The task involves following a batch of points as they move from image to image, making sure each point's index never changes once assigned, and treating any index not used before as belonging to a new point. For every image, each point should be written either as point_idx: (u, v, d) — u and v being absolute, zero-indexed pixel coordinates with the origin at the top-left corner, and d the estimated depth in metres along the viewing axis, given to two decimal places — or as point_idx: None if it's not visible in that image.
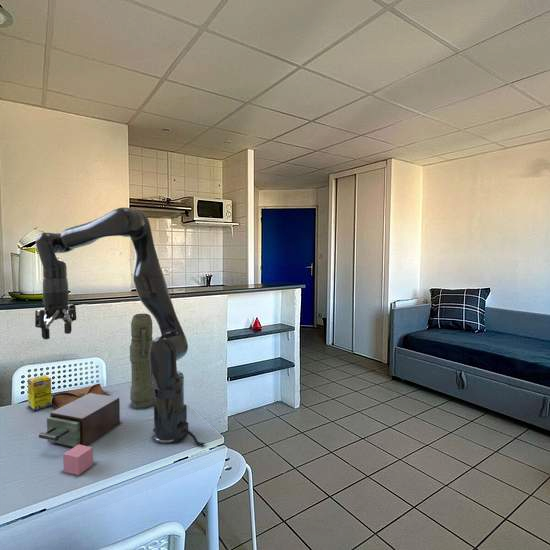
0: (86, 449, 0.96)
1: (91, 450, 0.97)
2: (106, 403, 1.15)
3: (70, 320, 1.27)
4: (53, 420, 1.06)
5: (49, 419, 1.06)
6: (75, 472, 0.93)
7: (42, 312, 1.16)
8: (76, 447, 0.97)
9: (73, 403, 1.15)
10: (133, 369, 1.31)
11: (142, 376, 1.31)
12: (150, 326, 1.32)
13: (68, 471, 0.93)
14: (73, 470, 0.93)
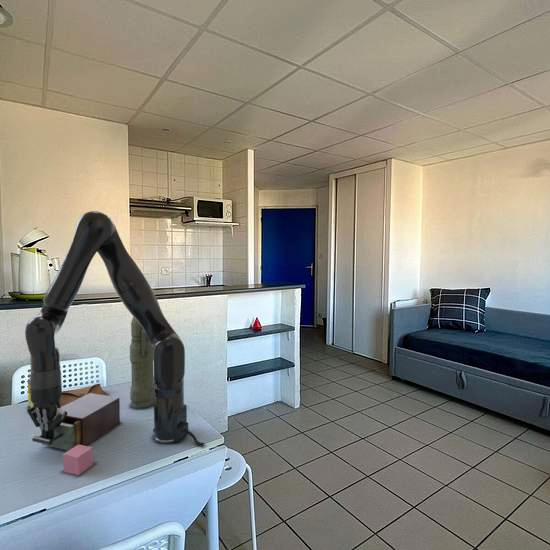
0: (86, 449, 0.96)
1: (91, 450, 0.97)
2: (106, 403, 1.15)
3: (45, 427, 1.00)
4: None
5: None
6: (75, 472, 0.93)
7: (28, 411, 1.01)
8: (76, 447, 0.97)
9: (73, 403, 1.15)
10: (133, 369, 1.31)
11: (142, 376, 1.31)
12: None
13: (68, 471, 0.93)
14: (73, 470, 0.93)
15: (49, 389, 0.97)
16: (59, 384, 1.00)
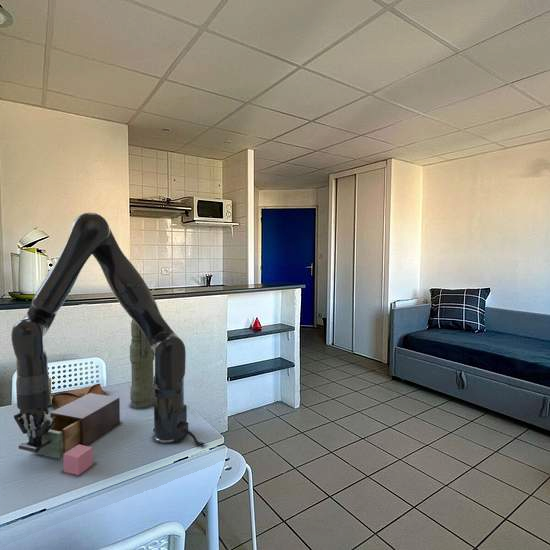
0: (86, 449, 0.96)
1: (91, 450, 0.97)
2: (106, 403, 1.15)
3: (32, 434, 0.96)
4: None
5: None
6: (75, 472, 0.93)
7: (15, 418, 0.97)
8: (76, 447, 0.97)
9: (73, 403, 1.15)
10: (133, 369, 1.31)
11: (142, 376, 1.31)
12: None
13: (68, 471, 0.93)
14: (73, 470, 0.93)
15: (36, 394, 0.94)
16: (47, 389, 0.96)
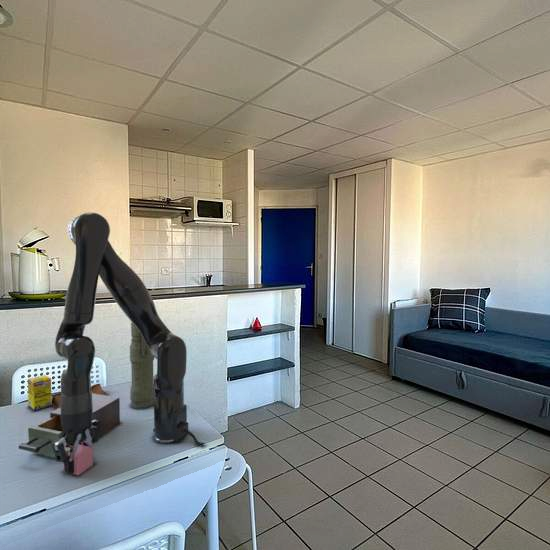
0: (86, 449, 0.96)
1: (91, 450, 0.97)
2: (106, 403, 1.15)
3: (90, 444, 0.98)
4: (35, 430, 1.00)
5: (31, 428, 1.01)
6: (75, 472, 0.93)
7: (61, 446, 0.89)
8: None
9: None
10: (133, 369, 1.31)
11: (142, 376, 1.31)
12: None
13: None
14: None
15: None
16: None
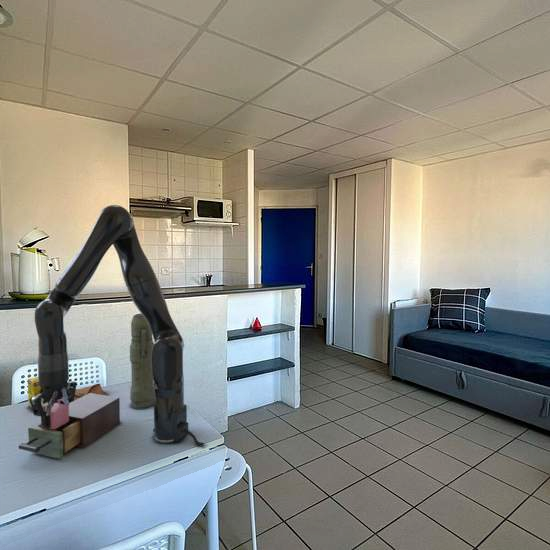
0: (63, 406, 1.04)
1: (67, 408, 1.04)
2: (106, 403, 1.15)
3: (66, 403, 1.05)
4: (35, 430, 1.00)
5: (31, 428, 1.01)
6: (51, 427, 1.00)
7: (38, 400, 0.96)
8: None
9: (73, 403, 1.15)
10: (133, 369, 1.31)
11: (142, 376, 1.31)
12: None
13: None
14: None
15: None
16: None
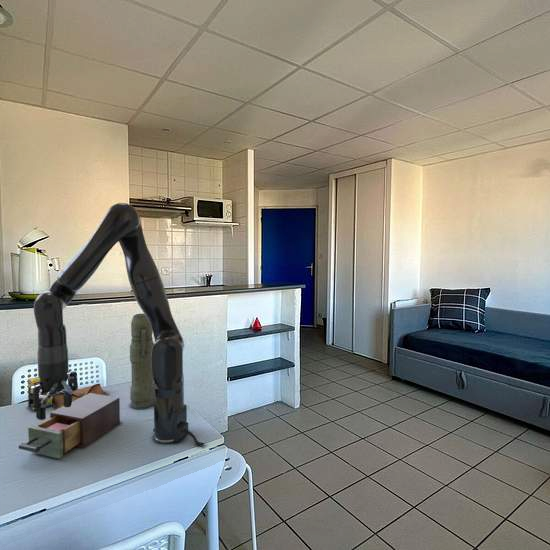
0: (64, 426, 1.04)
1: None
2: (106, 403, 1.15)
3: (70, 391, 1.06)
4: (35, 430, 1.00)
5: (31, 428, 1.01)
6: None
7: (37, 389, 0.96)
8: (54, 425, 1.05)
9: (73, 403, 1.15)
10: (133, 369, 1.31)
11: (142, 376, 1.31)
12: (150, 326, 1.32)
13: None
14: None
15: None
16: None
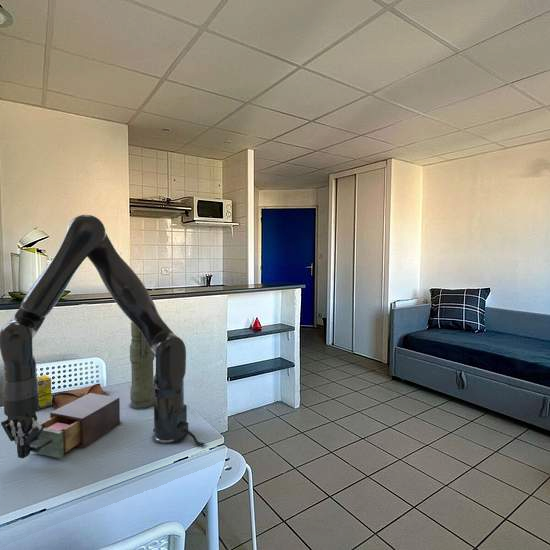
0: (64, 426, 1.04)
1: None
2: (106, 403, 1.15)
3: (20, 441, 0.92)
4: None
5: None
6: None
7: (2, 424, 0.94)
8: (55, 425, 1.05)
9: (73, 403, 1.15)
10: (133, 369, 1.31)
11: (142, 376, 1.31)
12: None
13: None
14: None
15: (24, 400, 0.90)
16: (35, 395, 0.93)
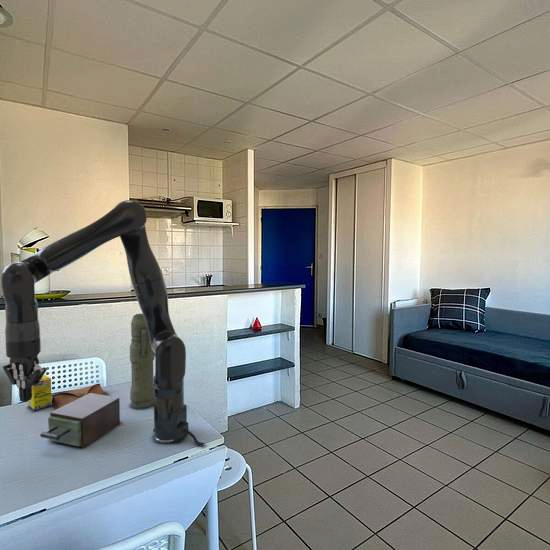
0: None
1: None
2: (106, 403, 1.15)
3: (22, 384, 0.92)
4: (54, 419, 1.06)
5: (50, 418, 1.07)
6: None
7: (4, 368, 0.94)
8: None
9: (73, 403, 1.15)
10: (133, 369, 1.31)
11: (142, 376, 1.31)
12: None
13: None
14: None
15: (26, 342, 0.90)
16: (37, 338, 0.93)
